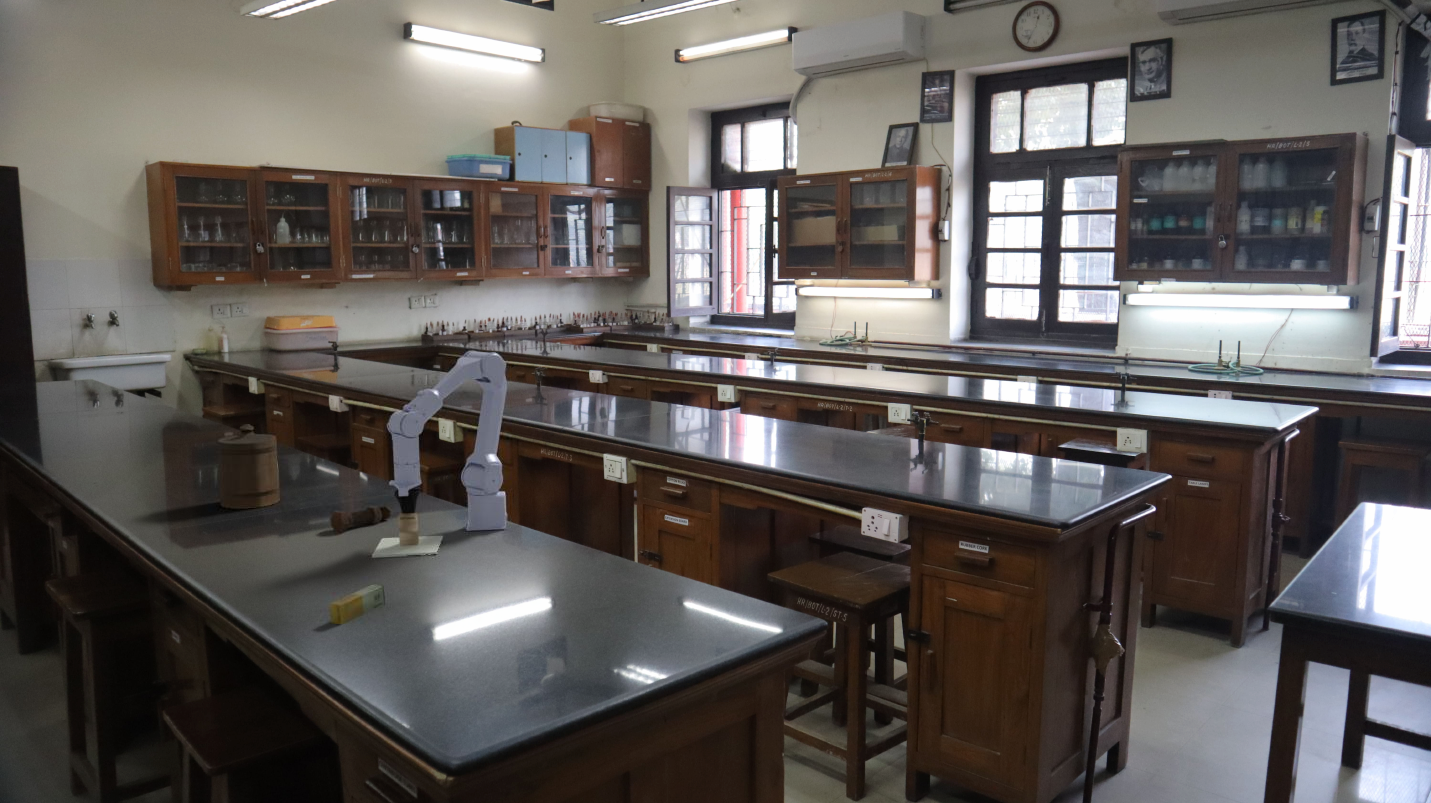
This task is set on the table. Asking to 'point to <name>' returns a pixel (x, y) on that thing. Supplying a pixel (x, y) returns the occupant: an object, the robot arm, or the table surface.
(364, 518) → the bolt
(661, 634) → the table surface
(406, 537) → the slab
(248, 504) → the wooden container
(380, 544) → the board
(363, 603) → the medication box
